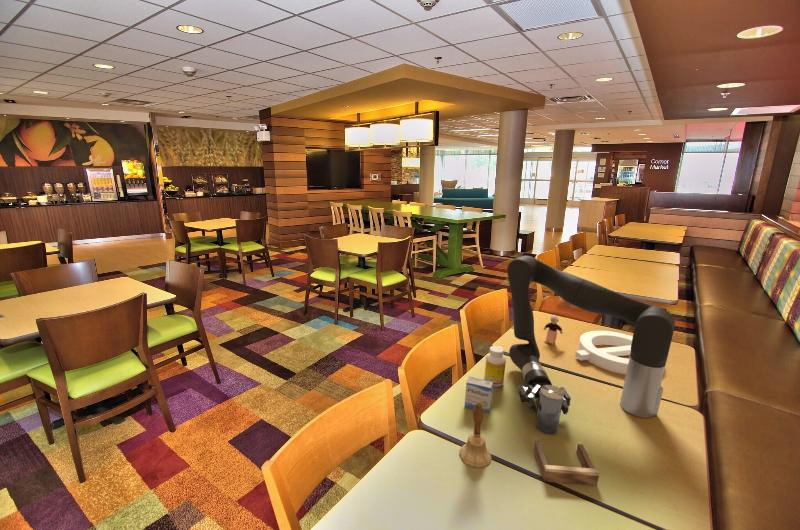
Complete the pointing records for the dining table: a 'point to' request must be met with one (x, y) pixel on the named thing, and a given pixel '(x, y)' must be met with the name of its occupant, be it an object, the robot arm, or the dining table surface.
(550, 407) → the tin
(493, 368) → the supplement bottle
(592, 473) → the wooden u-shaped bracket
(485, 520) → the dining table surface
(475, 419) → the hand bell
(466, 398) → the medicine box
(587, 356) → the ring with crossbar
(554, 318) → the grandmother figurine
